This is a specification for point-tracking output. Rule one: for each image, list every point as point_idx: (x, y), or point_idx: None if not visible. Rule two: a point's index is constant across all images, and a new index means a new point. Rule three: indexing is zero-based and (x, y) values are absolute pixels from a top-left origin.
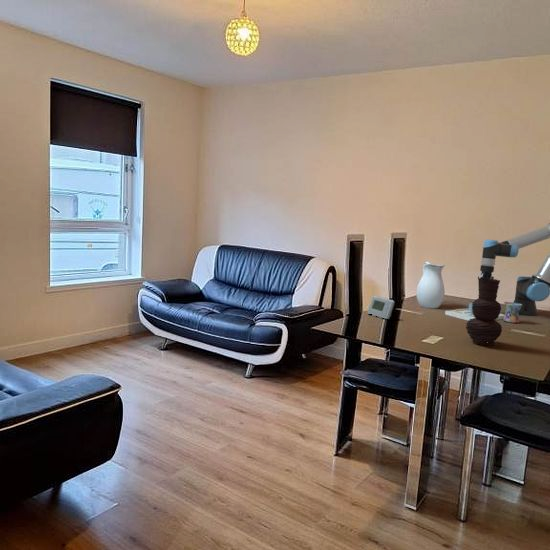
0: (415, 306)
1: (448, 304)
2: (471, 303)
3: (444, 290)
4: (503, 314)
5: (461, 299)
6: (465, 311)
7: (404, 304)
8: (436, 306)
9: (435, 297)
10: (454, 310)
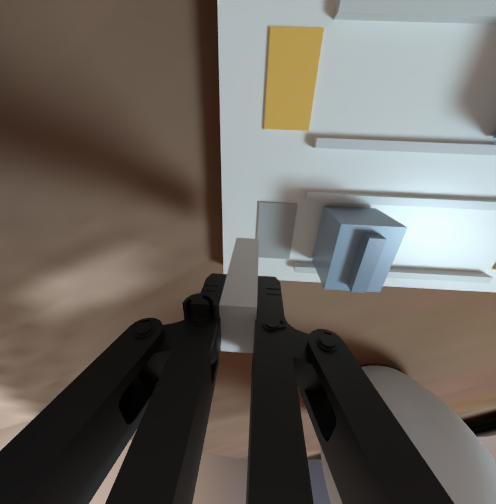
0: None
1: (225, 384)
2: (374, 279)
3: None
4: (225, 11)
5: None
6: (430, 243)
7: None
8: (392, 371)
9: (462, 426)
10: (460, 286)
